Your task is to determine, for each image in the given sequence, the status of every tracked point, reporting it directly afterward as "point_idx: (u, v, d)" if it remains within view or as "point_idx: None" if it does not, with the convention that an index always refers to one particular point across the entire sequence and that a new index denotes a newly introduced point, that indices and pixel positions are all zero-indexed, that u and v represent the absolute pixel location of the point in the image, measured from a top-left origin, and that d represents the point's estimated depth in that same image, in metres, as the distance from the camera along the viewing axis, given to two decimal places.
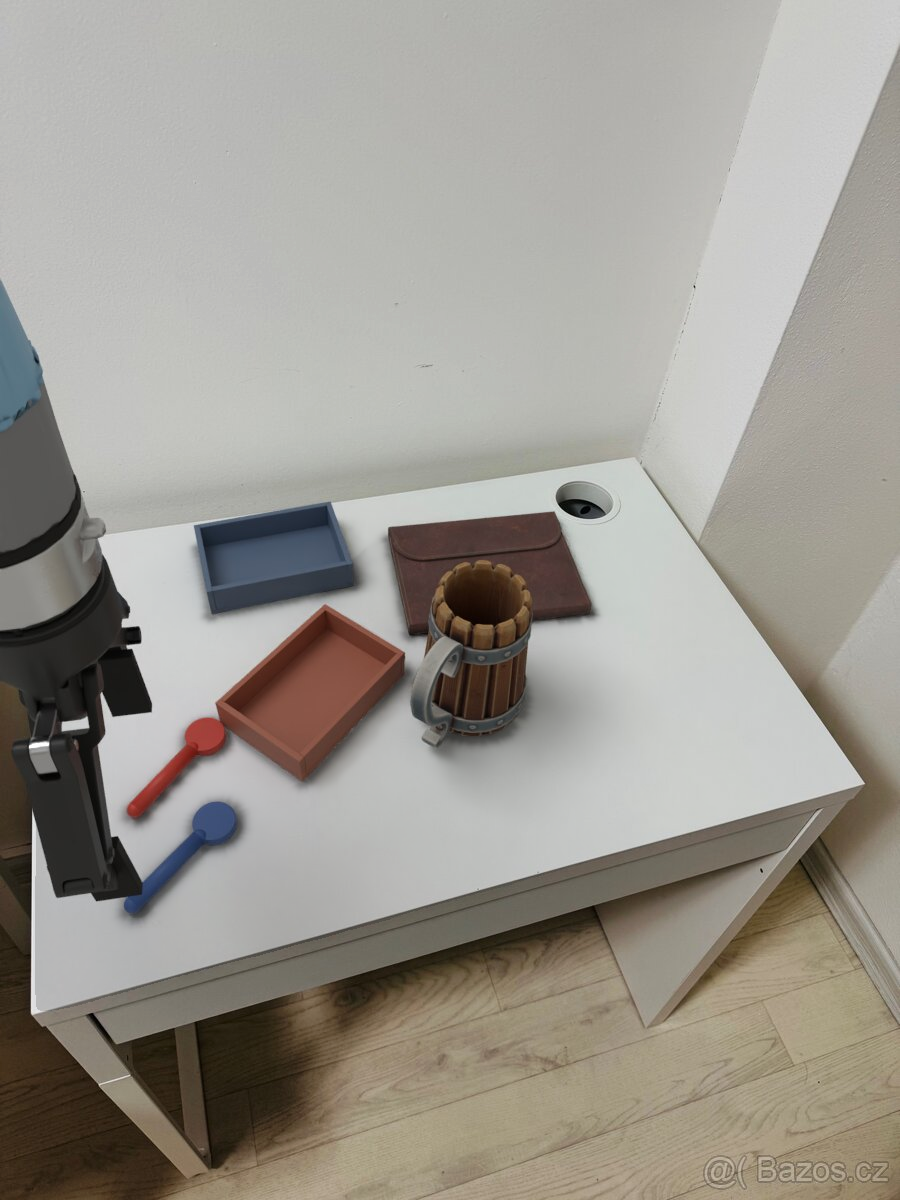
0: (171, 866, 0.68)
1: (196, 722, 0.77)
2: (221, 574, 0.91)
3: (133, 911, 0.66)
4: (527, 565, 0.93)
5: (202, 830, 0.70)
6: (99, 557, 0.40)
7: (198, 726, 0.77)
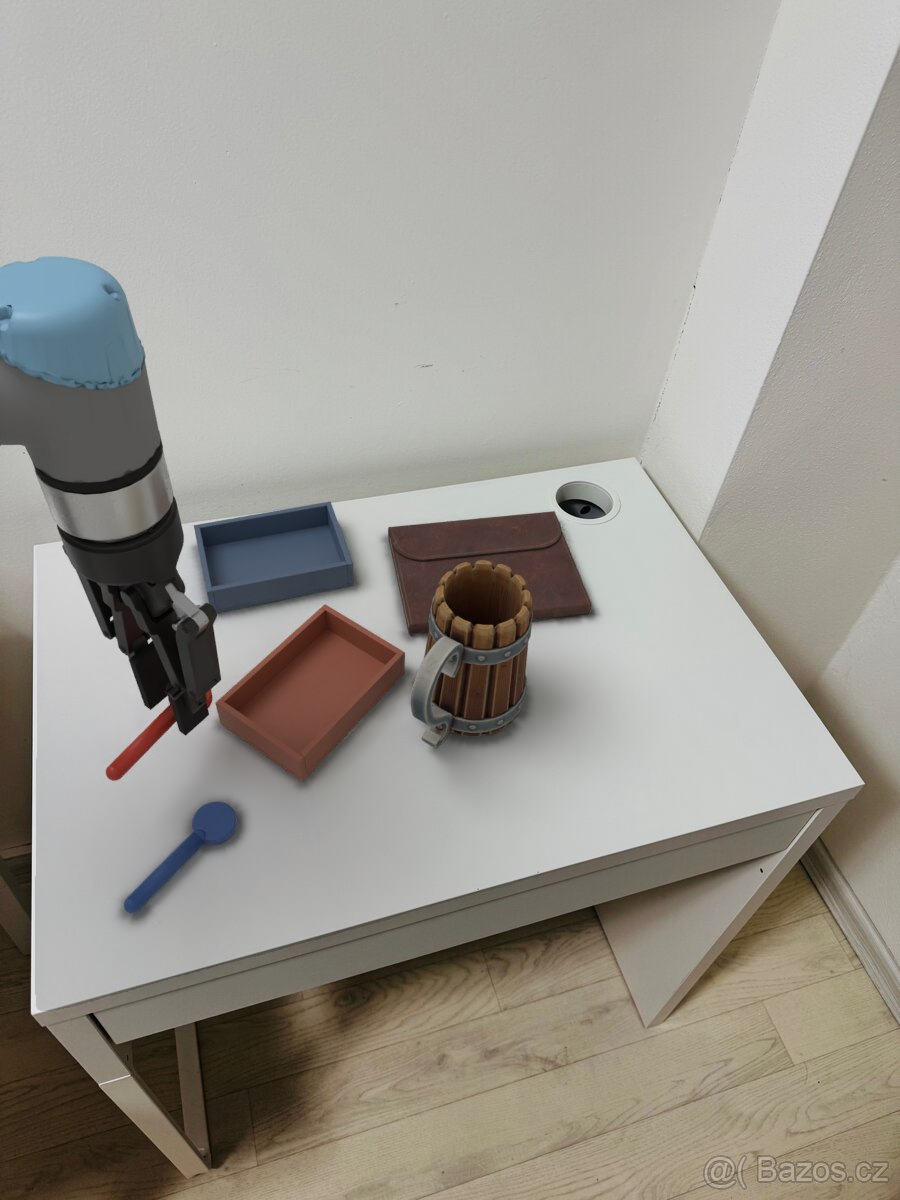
0: (171, 866, 0.68)
1: None
2: (221, 574, 0.91)
3: (133, 911, 0.66)
4: (527, 565, 0.93)
5: (202, 830, 0.70)
6: None
7: None
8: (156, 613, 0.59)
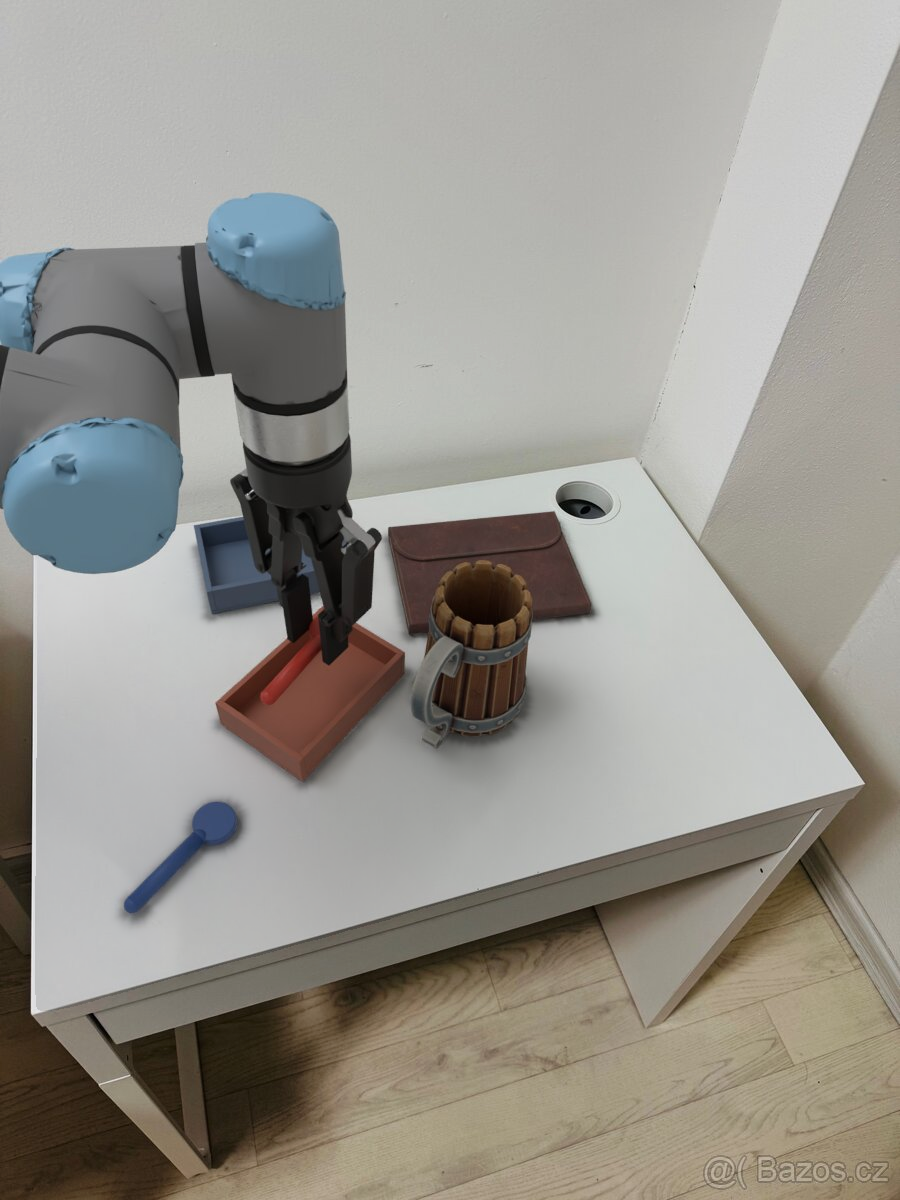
0: (171, 866, 0.68)
1: None
2: (221, 574, 0.91)
3: (133, 911, 0.66)
4: (527, 565, 0.93)
5: (202, 830, 0.70)
6: None
7: None
8: (324, 539, 0.63)
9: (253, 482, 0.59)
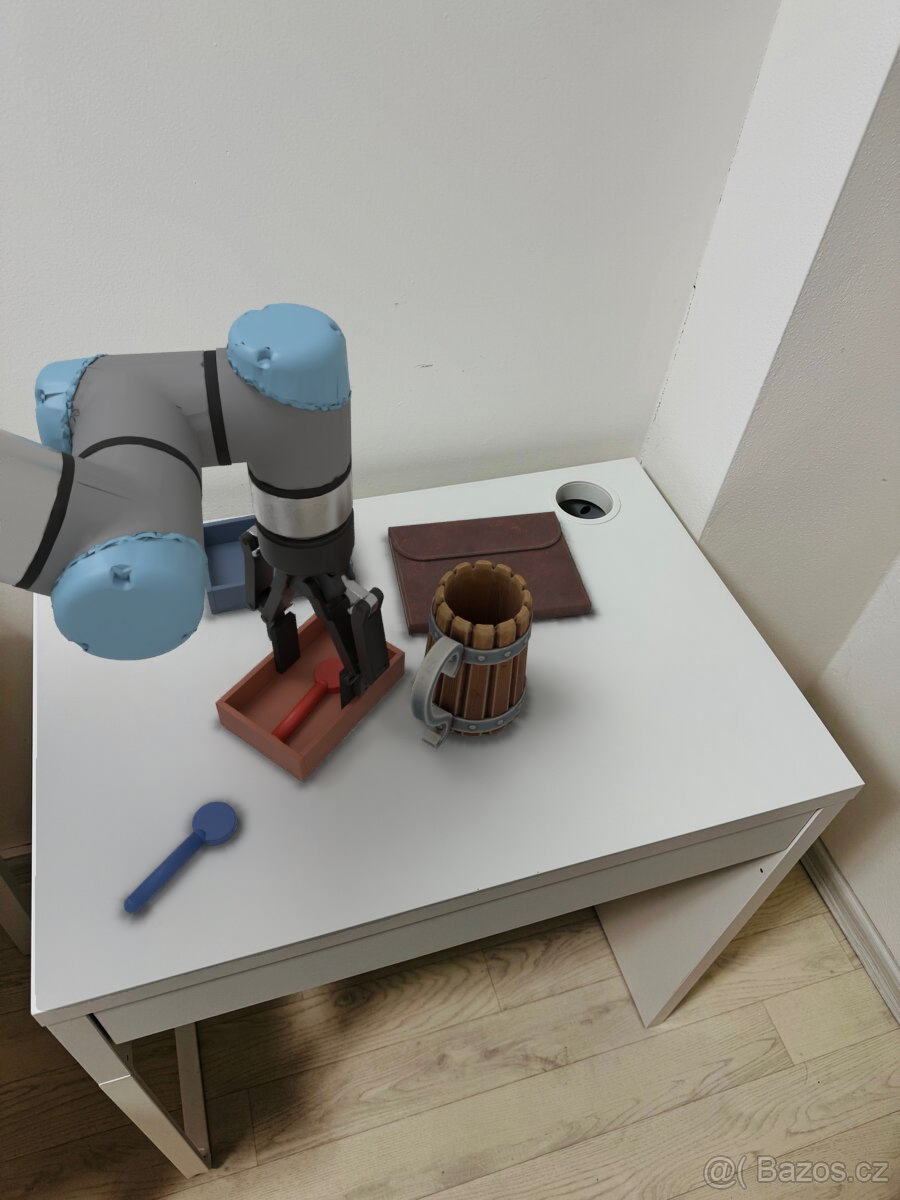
0: (171, 866, 0.68)
1: (323, 662, 0.82)
2: (221, 574, 0.91)
3: (133, 911, 0.66)
4: (527, 565, 0.93)
5: (202, 830, 0.70)
6: None
7: (325, 665, 0.82)
8: (328, 600, 0.68)
9: (264, 552, 0.64)
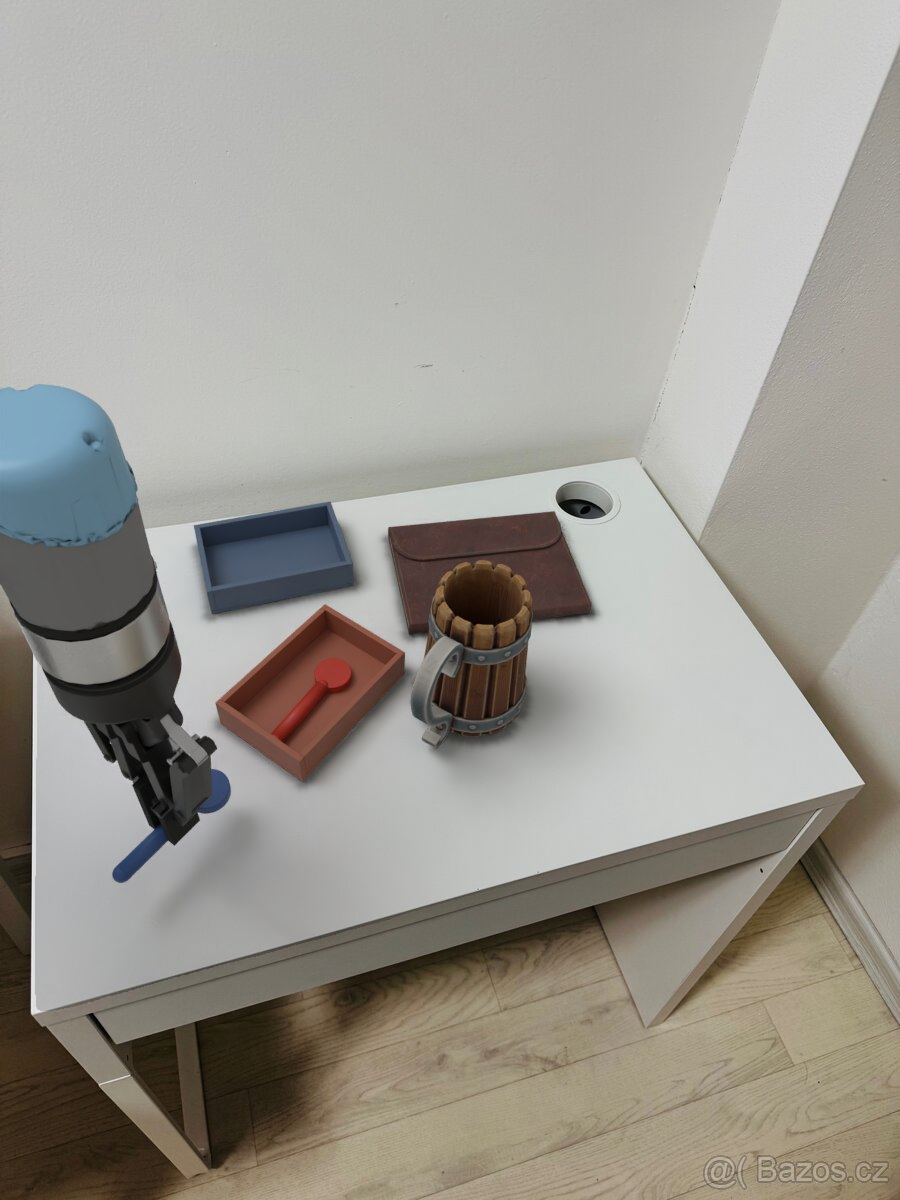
0: (162, 834, 0.65)
1: (323, 662, 0.82)
2: (221, 574, 0.91)
3: (122, 880, 0.63)
4: (527, 565, 0.93)
5: None
6: None
7: (325, 665, 0.82)
8: (151, 744, 0.53)
9: (54, 693, 0.49)
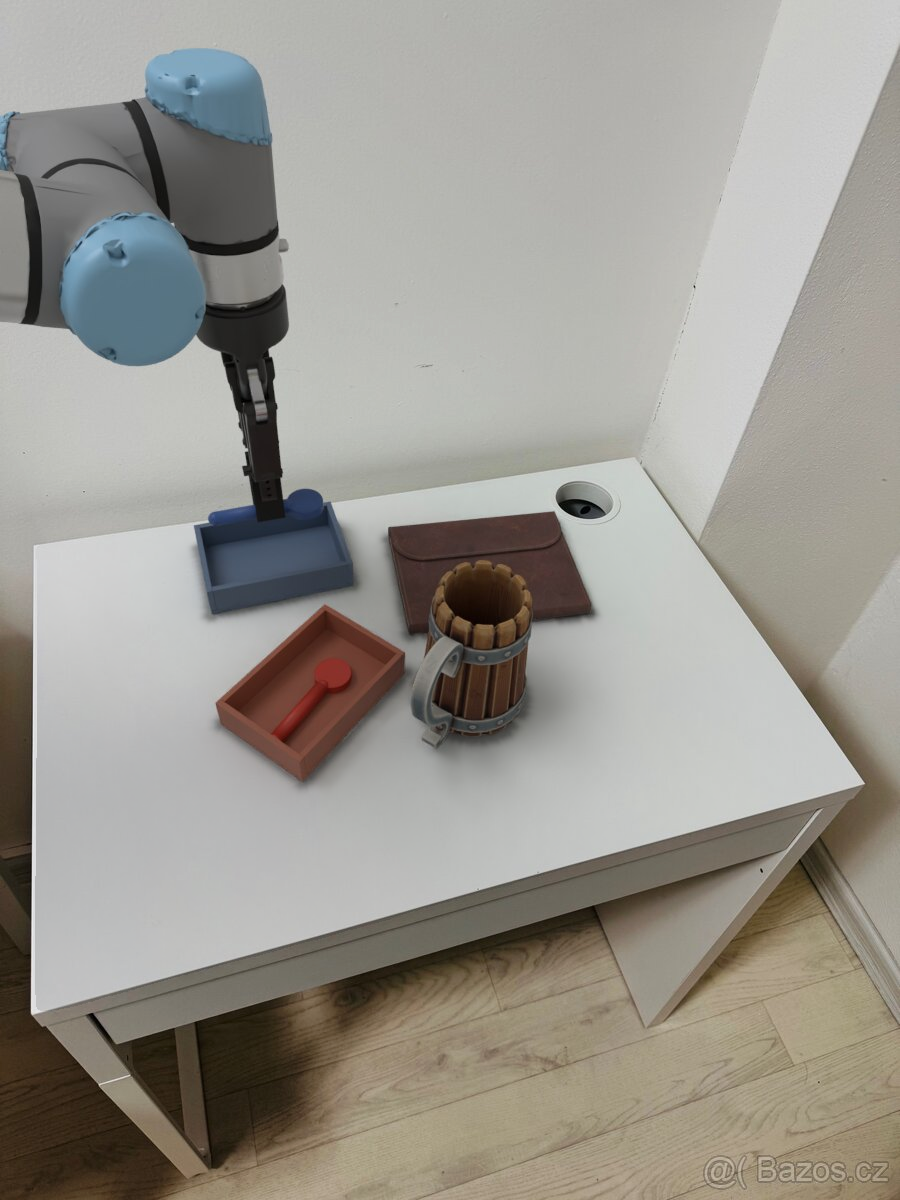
0: (254, 509, 0.82)
1: (323, 662, 0.82)
2: (221, 574, 0.91)
3: (211, 522, 0.81)
4: (527, 565, 0.93)
5: (291, 501, 0.83)
6: None
7: (325, 665, 0.82)
8: (242, 393, 0.69)
9: None
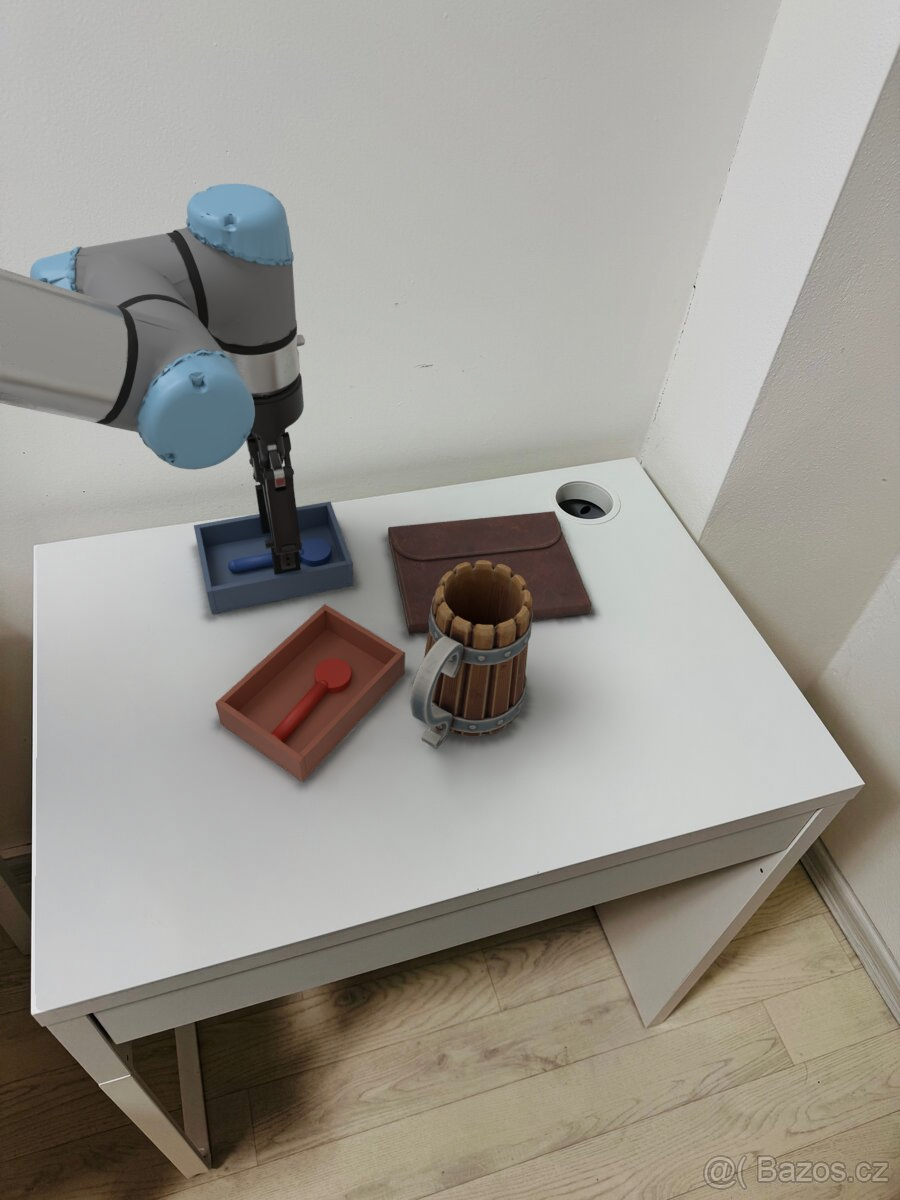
0: (269, 557, 0.91)
1: (323, 662, 0.82)
2: (221, 574, 0.91)
3: (231, 569, 0.90)
4: (527, 565, 0.93)
5: (302, 550, 0.92)
6: None
7: (325, 665, 0.82)
8: (262, 464, 0.78)
9: None
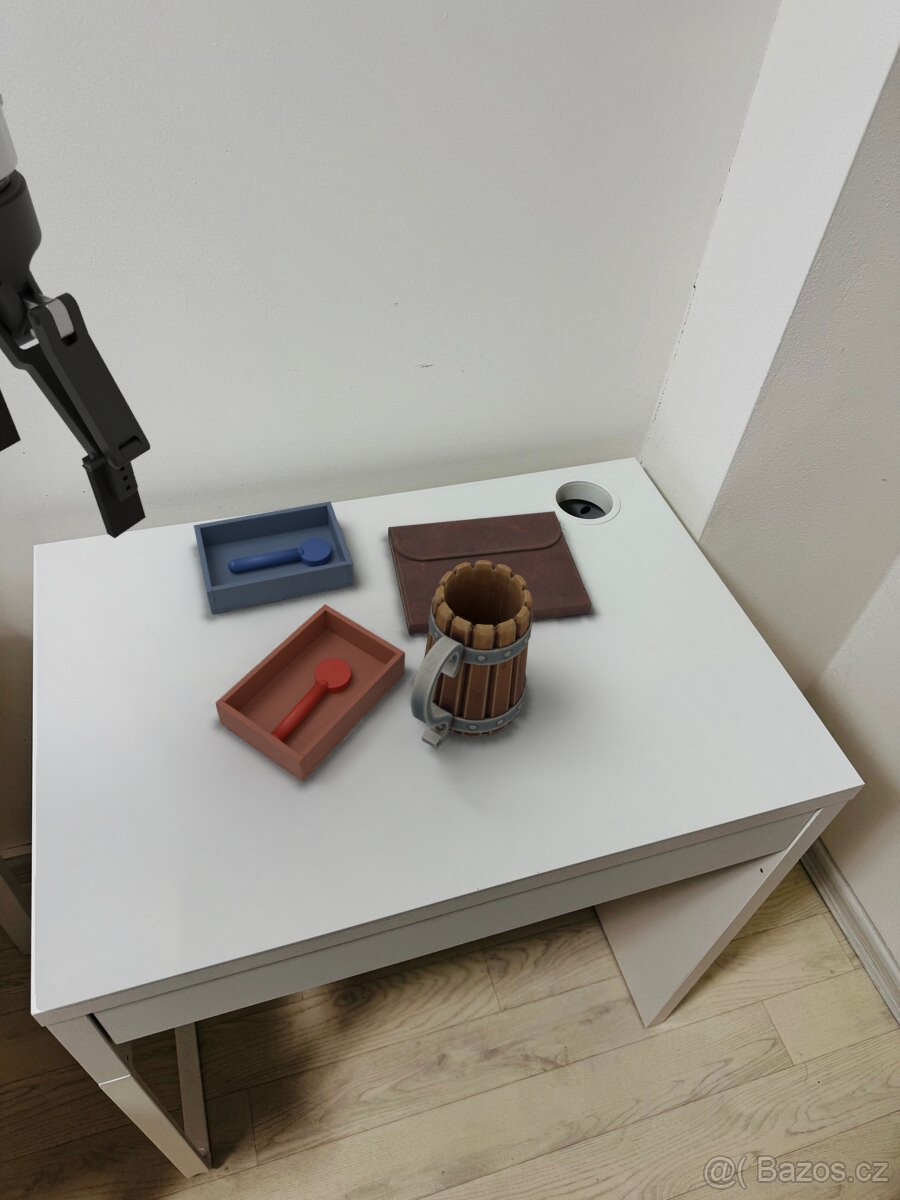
0: (269, 557, 0.91)
1: (323, 662, 0.82)
2: (221, 574, 0.91)
3: (231, 569, 0.90)
4: (527, 565, 0.93)
5: (302, 550, 0.92)
6: None
7: (325, 665, 0.82)
8: (12, 335, 0.49)
9: None
